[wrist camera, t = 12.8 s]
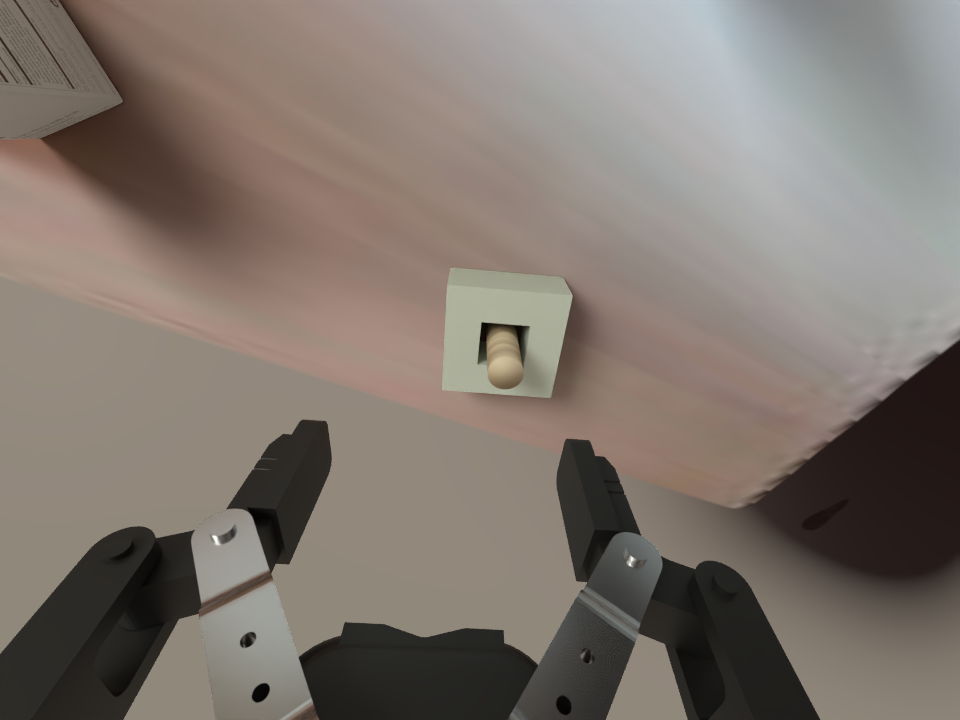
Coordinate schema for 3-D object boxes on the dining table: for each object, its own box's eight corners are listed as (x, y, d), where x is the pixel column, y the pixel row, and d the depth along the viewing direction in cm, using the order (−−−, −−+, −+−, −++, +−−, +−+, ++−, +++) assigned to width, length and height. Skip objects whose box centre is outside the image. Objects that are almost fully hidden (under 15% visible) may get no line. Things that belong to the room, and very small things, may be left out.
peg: (487, 309, 41) (489, 357, 33) (516, 311, 42) (526, 360, 33) (484, 335, 43) (486, 388, 34) (512, 337, 43) (521, 390, 34)
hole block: (450, 267, 39) (447, 284, 35) (562, 277, 40) (572, 295, 35) (445, 364, 45) (442, 390, 40) (544, 372, 45) (550, 398, 41)
